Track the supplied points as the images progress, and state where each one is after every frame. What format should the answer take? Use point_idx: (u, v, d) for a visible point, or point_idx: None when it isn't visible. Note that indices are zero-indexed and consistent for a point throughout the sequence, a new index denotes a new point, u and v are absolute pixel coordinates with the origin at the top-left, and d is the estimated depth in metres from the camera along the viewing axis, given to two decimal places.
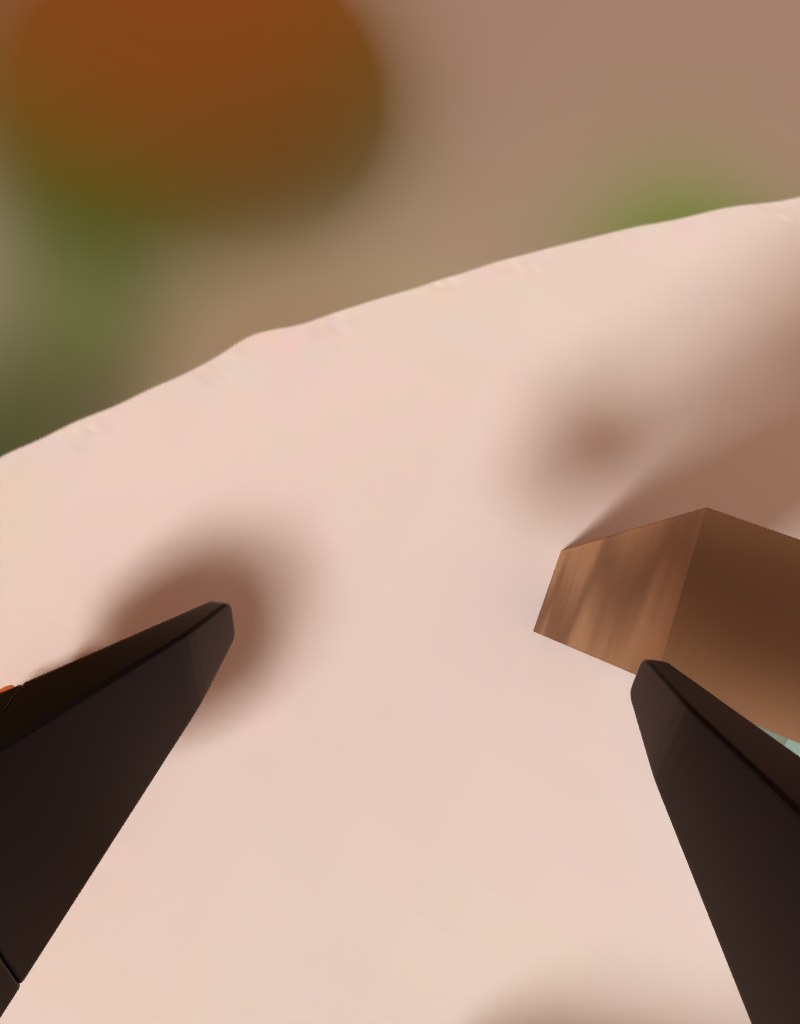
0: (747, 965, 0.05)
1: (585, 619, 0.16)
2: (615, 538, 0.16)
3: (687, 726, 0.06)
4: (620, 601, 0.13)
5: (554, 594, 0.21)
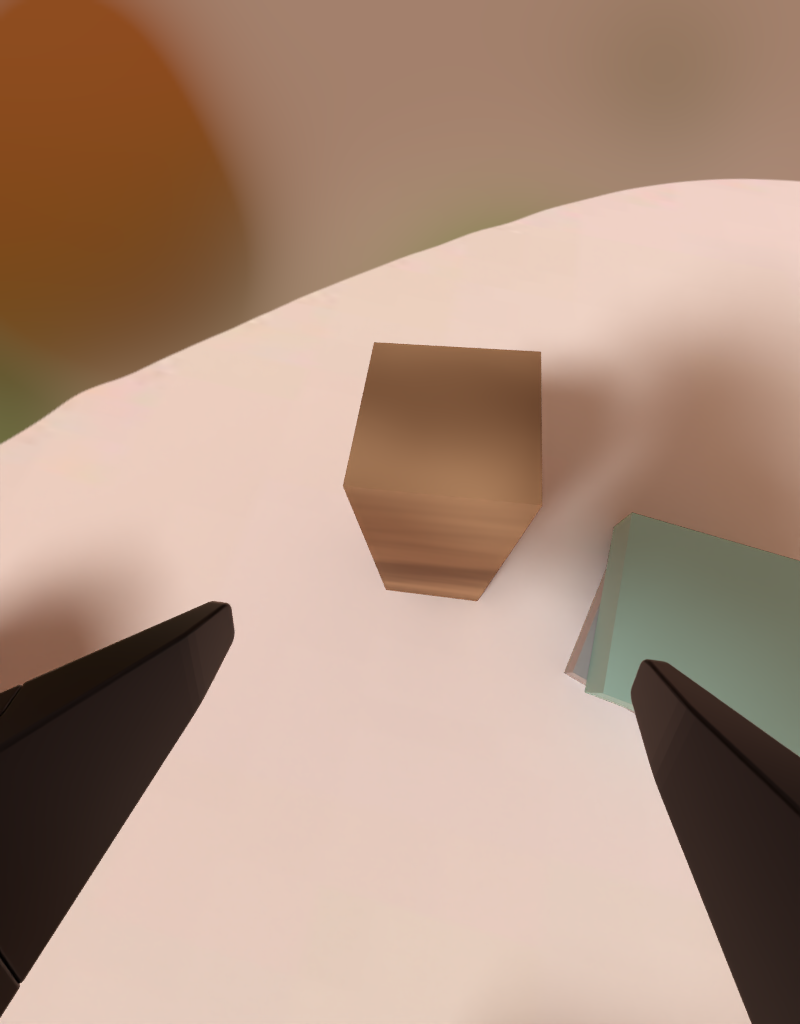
0: (747, 965, 0.05)
1: None
2: None
3: (687, 726, 0.06)
4: None
5: None
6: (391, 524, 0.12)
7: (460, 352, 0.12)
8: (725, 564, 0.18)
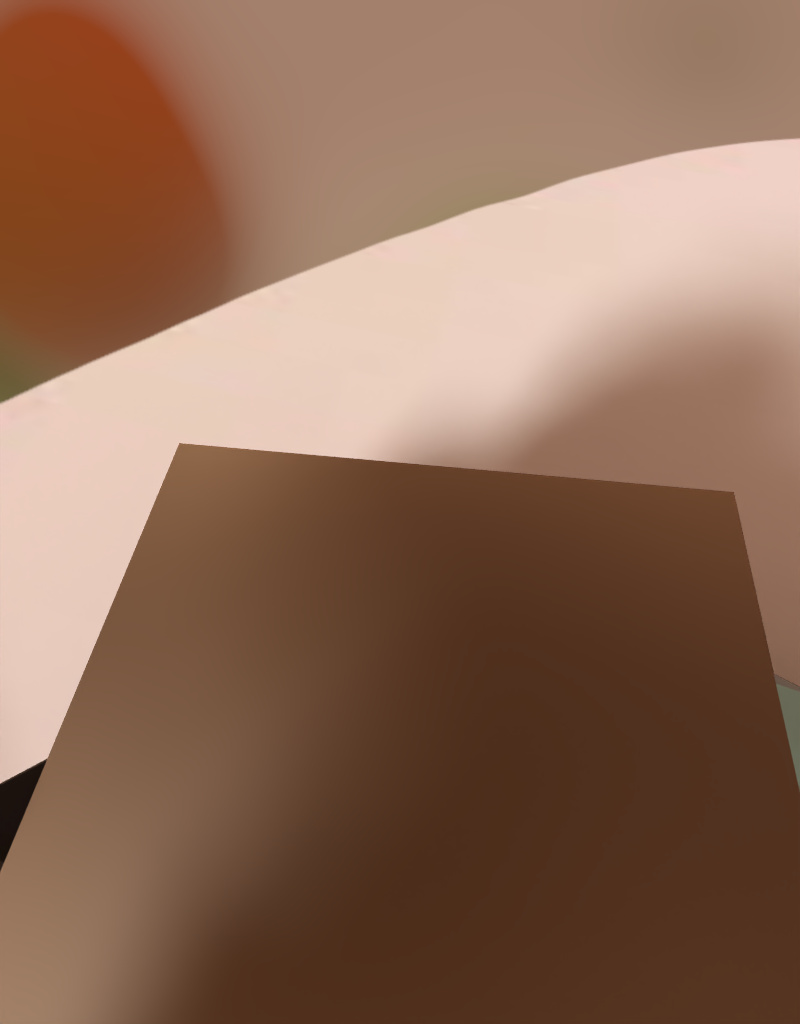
0: None
1: None
2: None
3: None
4: None
5: None
6: None
7: (451, 489, 0.03)
8: None
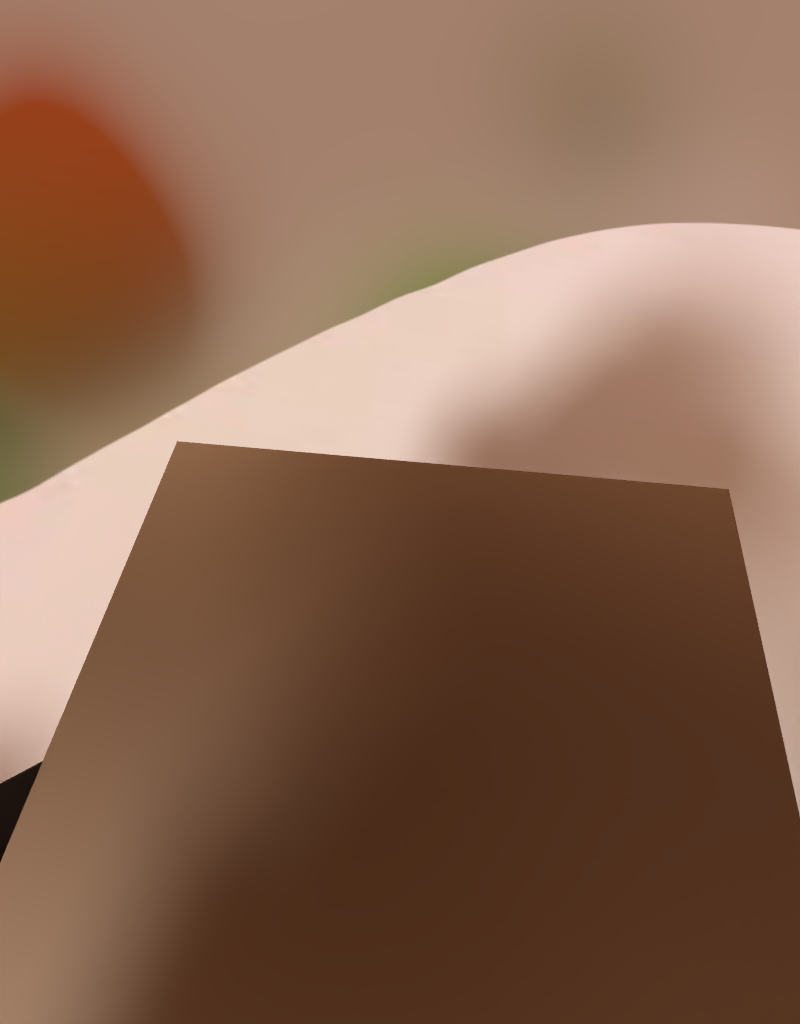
0: None
1: None
2: None
3: None
4: None
5: None
6: None
7: (447, 487, 0.03)
8: None
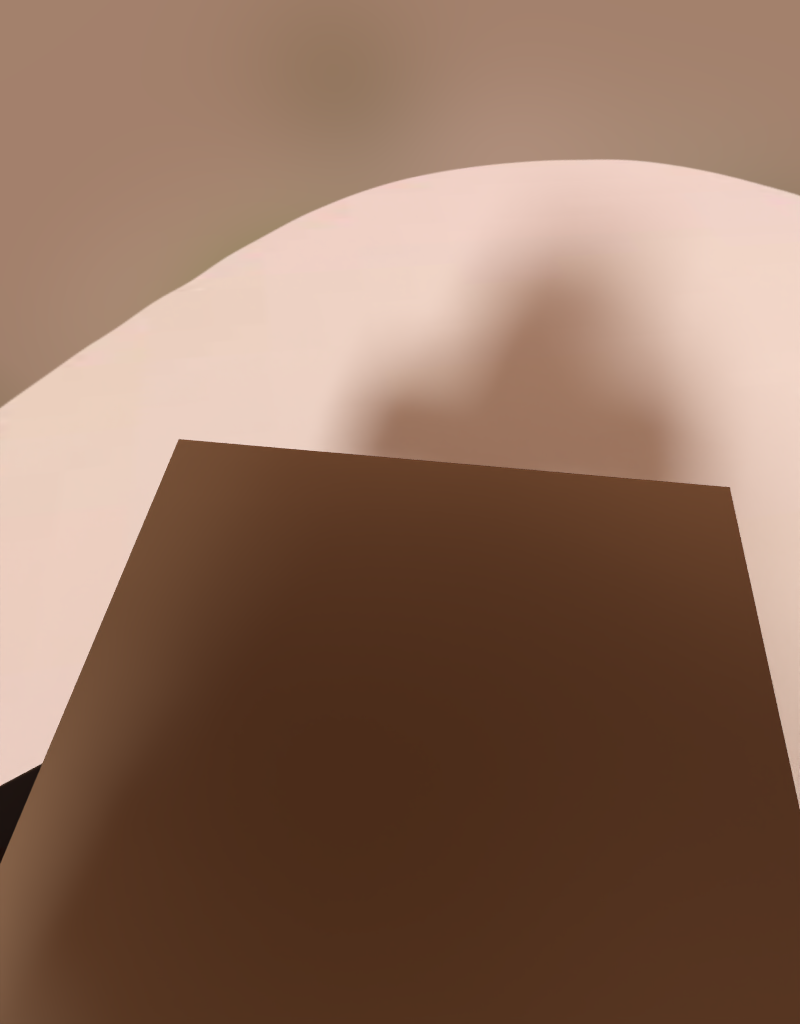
0: None
1: None
2: None
3: None
4: None
5: None
6: None
7: (449, 484, 0.03)
8: None
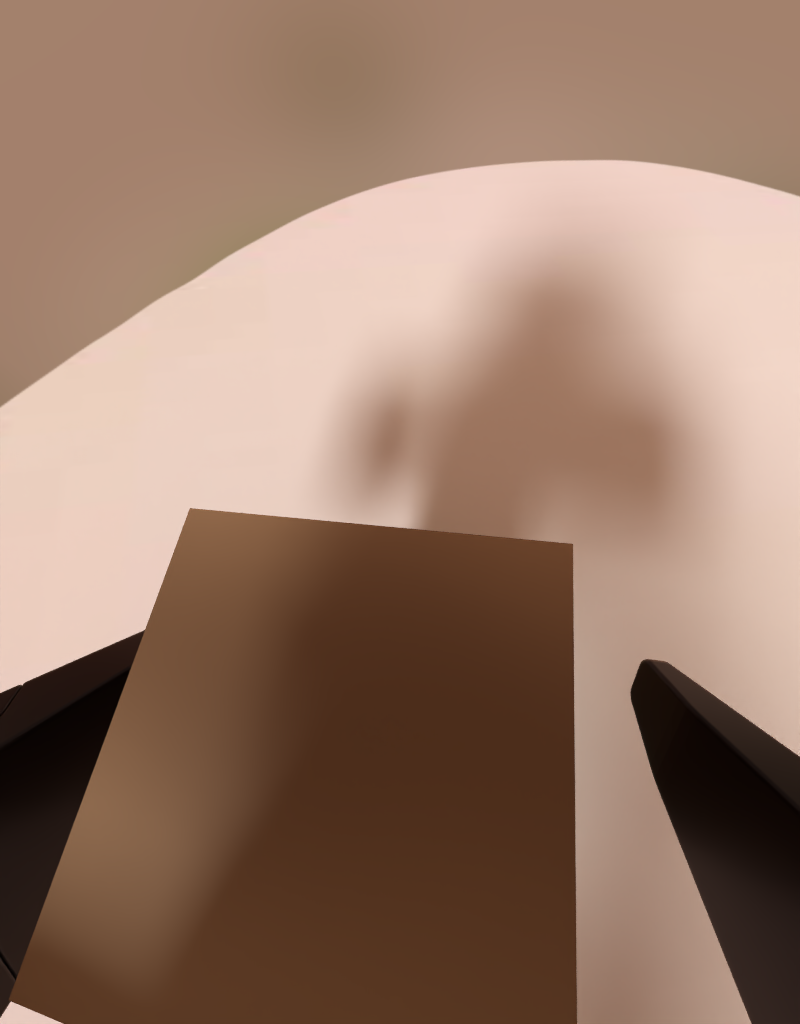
0: (747, 965, 0.05)
1: None
2: None
3: (687, 726, 0.06)
4: None
5: None
6: None
7: (370, 542, 0.05)
8: None
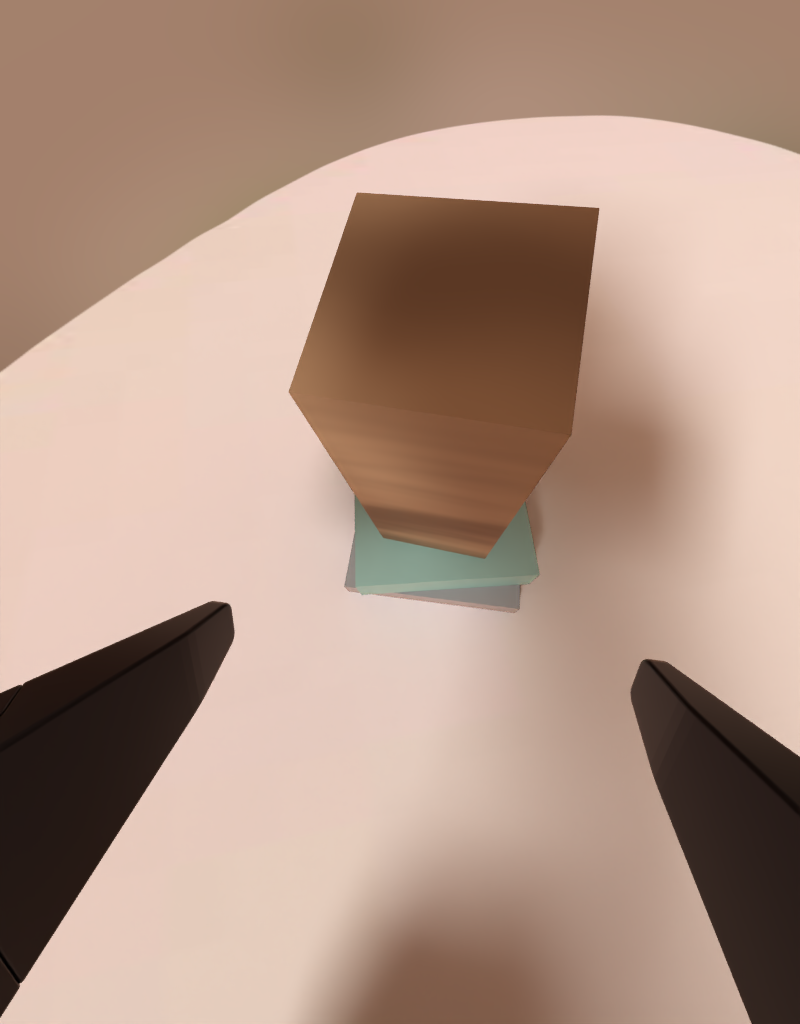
0: (747, 965, 0.05)
1: None
2: None
3: (687, 726, 0.06)
4: None
5: None
6: (368, 455, 0.09)
7: (478, 207, 0.08)
8: None
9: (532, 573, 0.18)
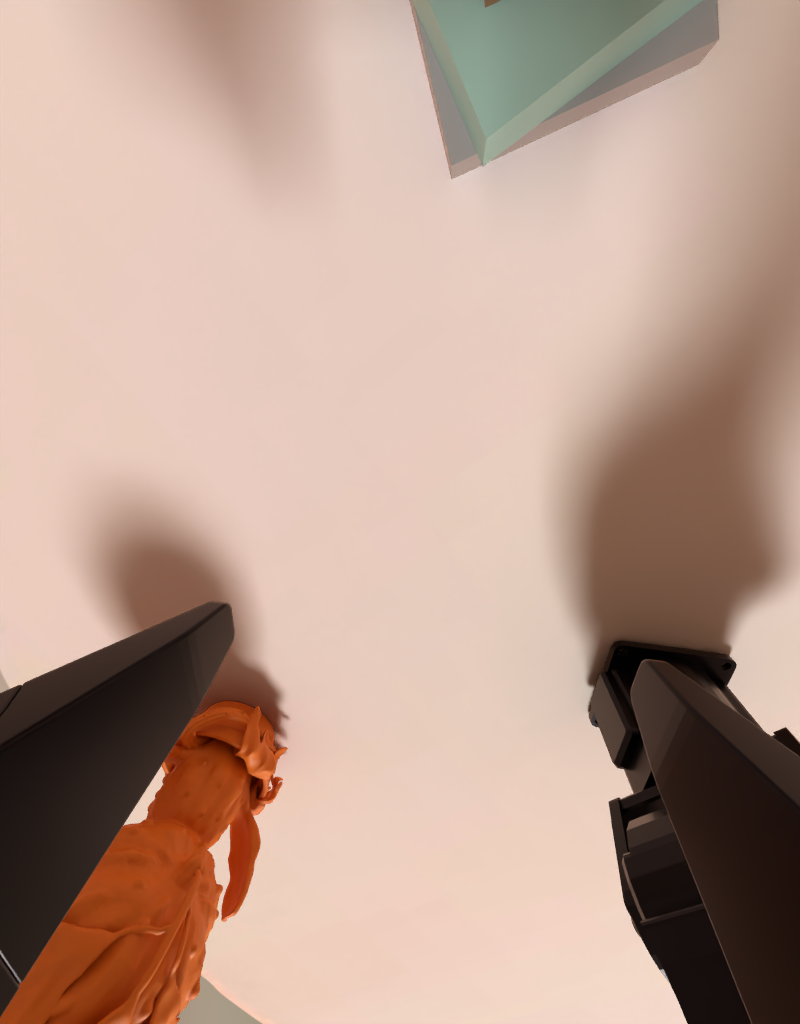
0: (747, 965, 0.05)
1: None
2: None
3: (687, 726, 0.06)
4: None
5: None
6: None
7: None
8: None
9: None
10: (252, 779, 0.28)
